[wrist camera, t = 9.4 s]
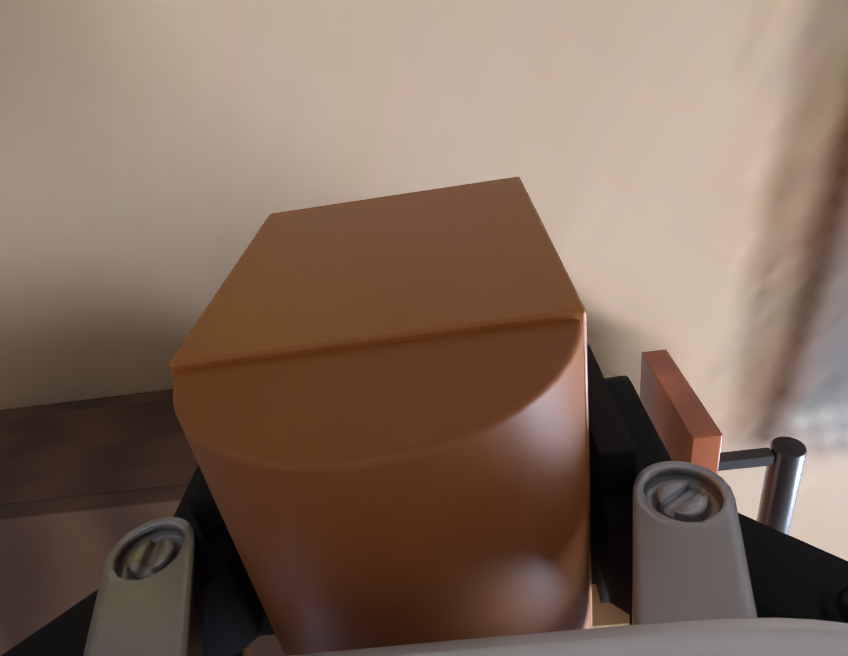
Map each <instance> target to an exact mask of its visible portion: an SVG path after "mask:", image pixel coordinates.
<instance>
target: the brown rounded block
mask: <svg viewBox="0 0 848 656" xmlns="http://www.w3.org/2000/svg"><path fill="white" fill-rule="evenodd" d="M169 369H170V371H171V374H172V376H173V378H174V386H173V404H174V409H175V414H176V416H177V418H178V420H179V423H180V425H181V427H182V429H183V431H184V434H185V436H186V438H187V440H188V443H189V445H190V447H191V449H192V451H193V454H194V456H195V458H196V460H197V462H198V465H199V467H200V469H201V471H202V474H203V476H204V478H205V480H206V482H207V485H208V487H209V489H210V491H211V493H212V496H213V498H214V500H215V502H216V505H217V507H218V509H219V511H220V513H221V516H222V518H223V520H224V522H225V524H226V527H227V529H228V531H229V533H230V535H231V538H232V540H233V542H234V544H235V547H236V549H237V551H238V553H239V555H240V558H241V560H242V562H243V564H244V566H245V569H246V571H247V573H248V575H249V578H250V580H251V582H252V584H253V586H254V589H255V591H256V593H257V595H258V597H259V600H260V602H261V604H262V606H263V609H264V611H265V613H266V615H267V617H268V620H269V622H270V624H271V626H272V628H273V631H274V633H275V635H276V637H277V640H278V642H279V644H280V646H281V648H282V651H283V653H284V655H285V656H289V655H300V654H311V653H321V652H332V651H343V650H354V649H364V648H375V647H386V646H397V645H408V644H419V643H430V642H441V641H452V640H463V639H474V638H486V637H497V636H509V635H521V634H532V633H544V632H555V631H567V630H579V629H590V628H592V576H591V524H590V471H589V418H588V366H587V313H586V310H585V308H584V306H583V304H582V302H581V300H580V298H579V296H578V294H577V292H576V290H575V288H574V286H573V284H572V282H571V280H570V277H569V275H568V273H567V271H566V269H565V267H564V265H563V263H562V261H561V259H560V257H559V255H558V253H557V251H556V249H555V247H554V245H553V243H552V241H551V239H550V237H549V235H548V233H547V231H546V229H545V227H544V225H543V223H542V221H541V219H540V217H539V215H538V213H537V211H536V209H535V207H534V205H533V203H532V201H531V199H530V197H529V195H528V193H527V191H526V189H525V187H524V185H523V183H522V181H521V179H520V177H514V178H507V179H500V180H493V181H487V182H480V183H473V184H467V185H460V186H453V187H447V188H440V189H433V190H426V191H420V192H413V193H406V194H400V195H393V196H386V197H380V198H373V199H366V200H360V201H353V202H346V203H339V204H333V205H326V206H319V207H313V208H306V209H299V210H293V211H286V212H279V213H273V214H270V215H269V217H268V218H267V219H266V221H265V222H264V224H263V225H262V227H261V228H260V230H259V231H258V233H257V234H256V236H255V237H254V239H253V240H252V242H251V243H250V245H249V246H248V248H247V249H246V251H245V252H244V253H243V255H242V256H241V258H240V259H239V261H238V262H237V264H236V265H235V267H234V268H233V270H232V271H231V273H230V274H229V276H228V277H227V279H226V280H225V282H224V283H223V285H222V286H221V287H220V289H219V290H218V292H217V293H216V295H215V296H214V298H213V299H212V301H211V302H210V304H209V305H208V307H207V308H206V310H205V311H204V313H203V314H202V316H201V317H200V319H199V320H198V321H197V323H196V324H195V326H194V327H193V329H192V330H191V332H190V333H189V335H188V336H187V338H186V339H185V341H184V342H183V344H182V345H181V347H180V348H179V350H178V351H177V352H176V354H175V355H174V357H173V358H172V360H171V361H170V363H169Z"/></svg>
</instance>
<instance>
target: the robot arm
mask: <svg viewBox="0 0 848 656" xmlns="http://www.w3.org/2000/svg"><path fill="white" fill-rule="evenodd" d="M587 366H588V418H589V471H590V524H591V576H592V584H595V585H596V588H597V592H598V595H599V599H600V602H601V603H611V604H613V605H615V606H616V607H618V608H619V609H621V610H623V611H624V612H626V613H627V614H629V625H626V626H613V627H602V628H590V629H579V630H567V631H555V632H544V633H532V634H521V635H509V636H497V637H486V638H474V639H463V640H452V641H441V642H430V643H419V644H408V645H397V646H386V647H375V648H364V649H354V650H343V651H332V652H321V653H311V654H300V655H289V656H848V561H845V560H843V559H841V558H839V557H836V556H834V555H832V554H830V553H827V552H825V551H823V550H821V549H818V548H816V547H814V546H812V545H809V544H807V543H805V542H803V541H800V540H798V539H796V538H794V537H791V536H789V535H787V534H785V533H782V532H780V531H778V530H776V529H773V528H771V527H769V526H767V525H764V524H762V523H760V522H758V521H755V520H753V519H751V518H749V517H746V516H744V515H742V514H740V513H738V512H737V507H736V501H735V497H734V495H733V492H732V490H731V488H730V486H729V485H728V484H727V483H726V482H725V481H724V480H723V479H722V477H720V476H719V475H717V474H716V473H714V472H713V471H711V470H710V469H707V468H705V467H702V466H700V465H697V464H694V463H689V462H683V461H672V459H671V458H670V456H669V454H668V452H667V450H666V448H665V446H664V444H663V442H662V440H661V438H660V436H659V435H658V433H657V431H656V429H655V427H654V425H653V423H652V421H651V419H650V417H649V415H648V413H647V412H646V410H645V408H644V406H643V404H642V402H641V400H640V398H639V396H638V394H637V392H636V390H635V389H634V387H633V385H632V383H631V381H630V380H629V378H628V377H627V376H617V377H609V378H604V377H603V375H602V373H601V370H600V368H599V366H598V364H597V362H596V359H595V357H594V355H593V353H592V351H591V349H590V346H589V344H588V342H587ZM264 635H275V633H274V631H273V628H272V626H271V624H270V622H269V620H268V617H267V615H266V613H265V611H264V609H263V606H262V604H261V602H260V600H259V597H258V595H257V593H256V591H255V589H254V586H253V584H252V582H251V580H250V578H249V575H248V573H247V571H246V569H245V566H244V564H243V562H242V560H241V558H240V555H239V553H238V551H237V549H236V547H235V544H234V542H233V540H232V538H231V535H230V533H229V531H228V529H227V527H226V524H225V522H224V520H223V518H222V516H221V513H220V511H219V509H218V507H217V505H216V502H215V500H214V498H213V496H212V493H211V491H210V489H209V487H208V485H207V482H206V480H205V478H204V476H203V474H202V471H201V469H200V467H199V465H198V466H197V468H196V470H195V472H194V474H193V476H192V478H191V480H190V483H189V485H188V487H187V489H186V491H185V493H184V495H183V497H182V499H181V502H180V504H179V506H178V508H177V510H176V512H175V514H174V516H173V517H163V518H158V519H154V520H151V521H149V522H147V523H144V524H142V525H140V526H138V527H137V528H135V529H134V530H132V531H130V532H129V533H127V534H126V535H125V536H124V537H123V538H122V539H121V540H120V541H118V542H117V543H116V545H115V546H114V547H113V549H112V550H111V551H110V553H109V554H108V556H107V559H106V561H105V564H104V566H103V571H102V575H101V580H100V584H99V589H97V590H96V591H94V592H93V593H92V594H90V595H89V596H87V597H86V598H84V599H83V600H81V601H80V602H78V603H77V604H76V605H74V606H73V607H71V608H70V609H68V610H67V611H65V612H64V613H62V614H61V615H59V616H58V617H57V618H55V619H54V620H52V621H51V622H49V623H48V624H46V625H45V626H43V627H42V628H40V629H39V630H38V631H36V632H35V633H33V634H32V635H30V636H29V637H27V638H26V639H24V640H23V641H22V642H20V643H19V644H17V645H16V646H14V647H13V648H11V649H10V650H8V651H7V652H5V653H4V654H3V655H1V656H251V649H250V645H249V644H250V643H252V642H253V641H254V640H255V639H256V638H257V637H259V636H264Z"/></svg>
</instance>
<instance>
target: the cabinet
mask: <svg viewBox="0 0 848 656" xmlns="http://www.w3.org/2000/svg"><path fill="white" fill-rule="evenodd" d="M197 466H198V462H197V460H196V458H195V456H194V454H193V451H192V449H191V447H190V445H189V443H188V440H187V438H186V436H185V434H184V431H183V429H182V427H181V425H180V423H179V420H178V418H177V416H176V414H175V409H174V404H173V389H171V390H162V391H154V392H146V393H138V394H130V395H122V396H114V397H106V398H98V399H90V400H82V401H73V402H65V403H57V404H49V405H41V406H33V407H25V408H17V409H9V410H1V411H0V656H1V655H3V654H4V653H5V652H7V651H8V650H10V649H11V648H13V647H14V646H16V645H17V644H19V643H20V642H22V641H23V640H24V639H26V638H27V637H29V636H30V635H32V634H33V633H35V632H36V631H38V630H39V629H40V628H42V627H43V626H45V625H46V624H48V623H49V622H51V621H52V620H54V619H55V618H57V617H58V616H59V615H61V614H62V613H64V612H65V611H67V610H68V609H70V608H71V607H73V606H74V605H76V604H77V603H78V602H80V601H81V600H83V599H84V598H86V597H87V596H89V595H90V594H92V593H93V592H94V591H96V590H97V589H99V584H100V580H101V575H102V571H103V566H104V564H105V561H106V559H107V556H108V554H109V553H110V551H111V550H112V549H113V547H114V546H115V545H116V543H117V542H118V541H120V540H121V539H122V538H123V537H124V536H125V535H126V534H127V533H129V532H130V531H132V530H134V529H135V528H137V527H138V526H140V525H142V524H144V523H147V522H149V521H151V520H154V519H158V518H163V517H173V516H174V514H175V512H176V510H177V508H178V506H179V504H180V502H181V499H182V497H183V495H184V493H185V491H186V489H187V487H188V485H189V483H190V480H191V478H192V476H193V474H194V472H195V470H196V468H197ZM249 645H250V649H251V656H285V655H284V653H283V651H282V648H281V646H280V644H279V642H278V640H277V637H276V635H264V636H259V637H257V638H256V639H255V640H254V641H253V642H252V643H250V644H249Z"/></svg>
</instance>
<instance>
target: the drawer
mask: <svg viewBox="0 0 848 656" xmlns="http://www.w3.org/2000/svg"><path fill="white" fill-rule="evenodd" d="M603 377H604V378H609V377H615V375H614V373H612V374H603ZM640 400H641V402H642V404H643V406H644V408H645V410H646V412H647V413H648V415H649V417H650V419H651V421H652V423H653V425H654V427H655V429H656V431H657V433H658V435H659V436H660V438H661V440H662V442H663V444H664V446H665V448H666V450H667V452H668V454H669V456H670V458H671V459H672V461H683V462H689V463H694V464H697V465H700V466H702V467H705V468H707V469H710V470H711V471H713V472H714V473H716V474H717V473H718V471H721V470H731V469H740V468H750V467H759V466H767V467H766V472H765V478H764V483H763V489H762V494H761V500H760V505H759V510H758V516H757V521H758V522H760V523H762V524H764V525H767V526H769V527H771V528H773V529H776V530H778V531H780V532H782V533H785V534H787V535H788V533H789V528H790V524H791V519H792V515H793V510H794V506H795V502H796V497H797V493H798V488H799V484H800V479H801V475H802V471H803V466H804V462H805V457H806V453H807V450H806V447H805V445H804V444H803V443H802V442H800V441H799V440H797V439H794V438H791V437H778V438H775V439H774V440H773V441H772V442H771V445H770V449H769V448H759V449H750V450H741V451H731V452H722V453H720V451H721V443H722V433H721V432H720V430H719V429H718V427H717V426H716V424H715V423H714V421H713V420H712V418H711V417H710V415H709V414H708V412H707V410H706V409H705V407H704V406H703V404H702V403H701V401H700V400H699V398H698V397H697V395H696V394H695V392H694V391H693V389H692V388H691V386H690V385H689V383H688V382H687V380H686V379H685V377H684V376H683V374H682V373H681V371H680V370H679V368H678V367H677V365H676V364H675V362H674V361H673V359H672V358H671V356H670V355H669V353H668V352H667V350H658V351H649V352H643V353H642V360H641V385H640ZM626 625H629V614H627V613H626V612H624V611H623V610H621V609H619V608H618V607H616V606H615V605H613V604H611V603H601V602H600V599H599V595H598V592H597V588H596V585H595V584H592V628H602V627H613V626H626Z"/></svg>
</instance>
